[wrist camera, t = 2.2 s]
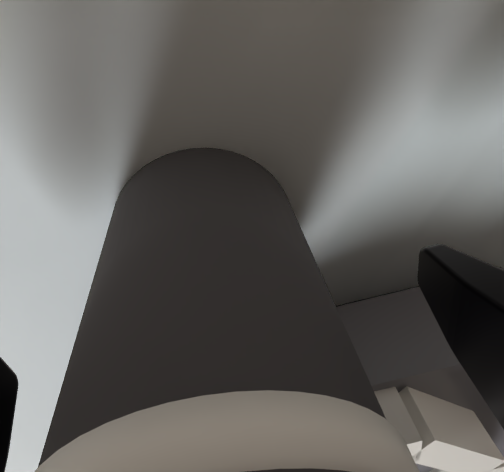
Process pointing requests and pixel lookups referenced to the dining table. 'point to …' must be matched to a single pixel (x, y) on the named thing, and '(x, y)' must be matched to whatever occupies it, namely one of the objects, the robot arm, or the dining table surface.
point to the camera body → (423, 384)
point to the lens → (214, 339)
